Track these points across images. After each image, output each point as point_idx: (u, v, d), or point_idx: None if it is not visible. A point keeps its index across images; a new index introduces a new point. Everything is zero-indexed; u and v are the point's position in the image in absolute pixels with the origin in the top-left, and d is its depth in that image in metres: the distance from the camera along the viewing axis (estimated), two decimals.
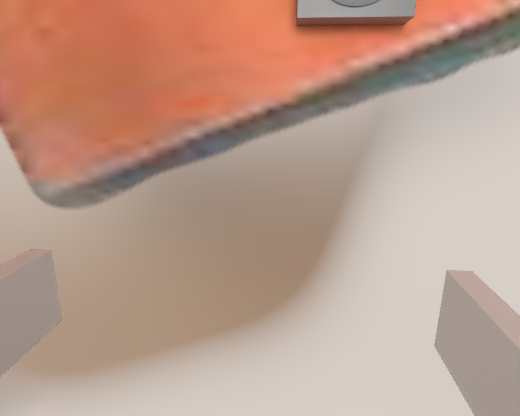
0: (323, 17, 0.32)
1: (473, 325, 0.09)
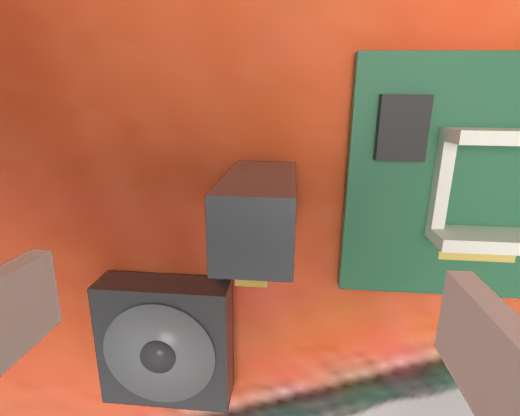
0: None
1: (473, 324, 0.09)
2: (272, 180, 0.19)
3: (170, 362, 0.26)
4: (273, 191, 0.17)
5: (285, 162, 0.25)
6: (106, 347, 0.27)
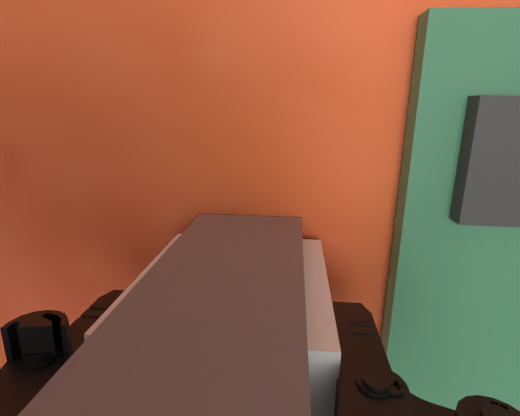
0: None
1: None
2: (249, 299, 0.08)
3: None
4: (241, 379, 0.06)
5: (283, 219, 0.14)
6: None
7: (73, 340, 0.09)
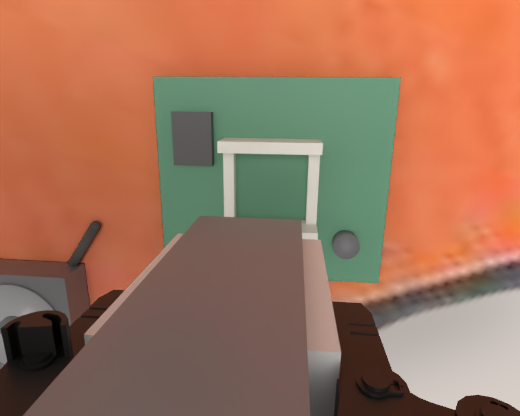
0: None
1: None
2: (248, 303, 0.08)
3: None
4: (241, 385, 0.06)
5: (283, 221, 0.14)
6: None
7: (72, 340, 0.09)
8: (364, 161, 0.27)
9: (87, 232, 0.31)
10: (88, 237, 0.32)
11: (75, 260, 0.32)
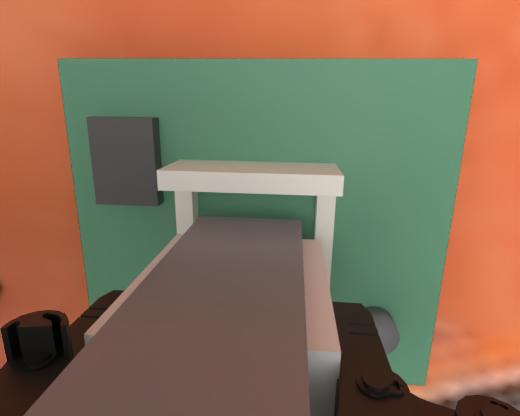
0: None
1: None
2: (249, 303, 0.08)
3: None
4: (241, 385, 0.06)
5: (283, 221, 0.14)
6: None
7: (72, 340, 0.09)
8: (408, 199, 0.17)
9: None
10: None
11: None
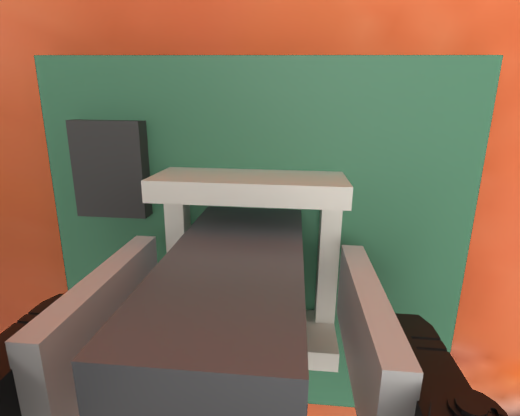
0: None
1: (347, 286, 0.11)
2: (255, 275, 0.09)
3: None
4: (251, 332, 0.07)
5: (284, 211, 0.15)
6: None
7: (1, 347, 0.08)
8: (423, 211, 0.15)
9: None
10: None
11: None
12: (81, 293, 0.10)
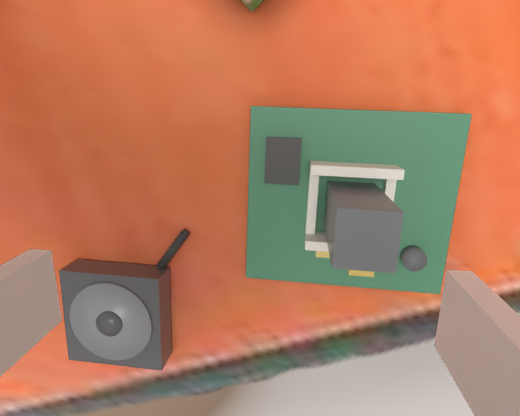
0: None
1: (473, 324, 0.09)
2: (372, 198, 0.26)
3: (118, 328, 0.35)
4: (382, 206, 0.23)
5: (366, 183, 0.31)
6: (71, 315, 0.36)
7: None
8: (434, 185, 0.31)
9: (177, 239, 0.35)
10: (178, 243, 0.35)
11: (164, 263, 0.36)
12: None
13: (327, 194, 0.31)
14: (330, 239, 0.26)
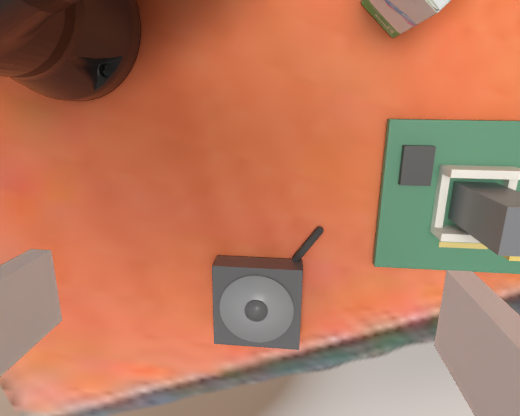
0: (233, 344, 0.43)
1: (473, 325, 0.09)
2: (518, 196, 0.31)
3: (264, 314, 0.41)
4: None
5: (489, 182, 0.37)
6: (221, 304, 0.41)
7: None
8: None
9: (314, 235, 0.41)
10: (314, 239, 0.41)
11: (300, 257, 0.42)
12: None
13: (457, 193, 0.36)
14: (484, 232, 0.31)
